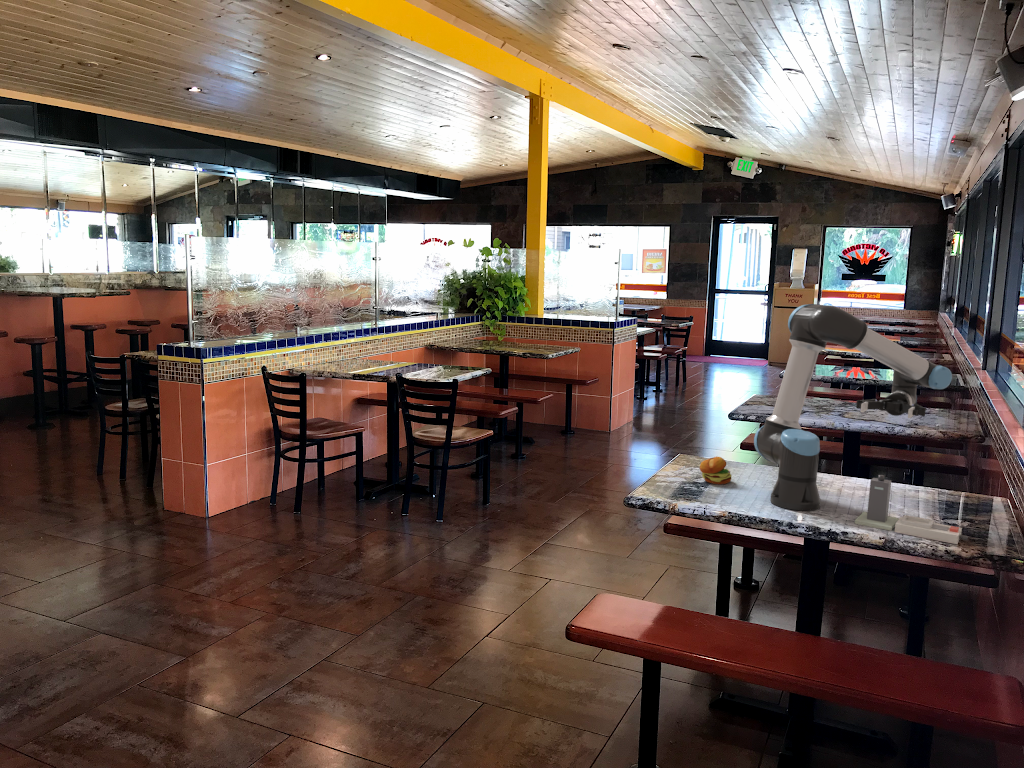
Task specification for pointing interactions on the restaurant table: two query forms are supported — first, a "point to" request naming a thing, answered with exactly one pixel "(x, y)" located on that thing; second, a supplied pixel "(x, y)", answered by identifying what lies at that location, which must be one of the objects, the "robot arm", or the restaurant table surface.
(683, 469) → the restaurant table surface
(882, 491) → the block
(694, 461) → the restaurant table surface
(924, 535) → the power strip
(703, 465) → the cheeseburger
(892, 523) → the mat
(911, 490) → the restaurant table surface
